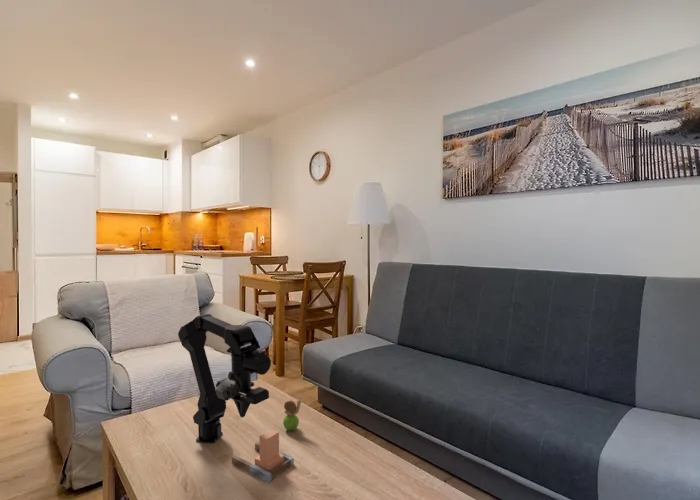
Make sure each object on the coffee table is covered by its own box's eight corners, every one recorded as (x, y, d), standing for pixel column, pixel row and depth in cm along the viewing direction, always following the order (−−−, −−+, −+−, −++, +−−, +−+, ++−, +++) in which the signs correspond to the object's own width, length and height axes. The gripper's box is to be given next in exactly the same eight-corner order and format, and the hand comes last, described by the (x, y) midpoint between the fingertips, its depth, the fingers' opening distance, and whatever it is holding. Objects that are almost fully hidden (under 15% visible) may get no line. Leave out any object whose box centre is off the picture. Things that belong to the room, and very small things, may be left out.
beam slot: (231, 463, 122) (231, 456, 122) (257, 447, 130) (257, 441, 130) (268, 482, 113) (268, 475, 113) (293, 464, 122) (293, 457, 121)
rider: (255, 468, 119) (254, 435, 119) (269, 458, 124) (269, 426, 124) (269, 475, 116) (268, 441, 115) (284, 465, 121) (283, 432, 120)
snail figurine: (298, 434, 139) (298, 400, 138) (280, 432, 140) (280, 398, 139) (303, 426, 144) (303, 394, 143) (286, 424, 145) (286, 392, 144)
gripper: (200, 369, 124) (201, 419, 125) (240, 382, 113) (241, 436, 114) (229, 359, 133) (231, 405, 134) (269, 370, 122) (270, 420, 123)
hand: (242, 416), depth 126 cm, fingers closed
